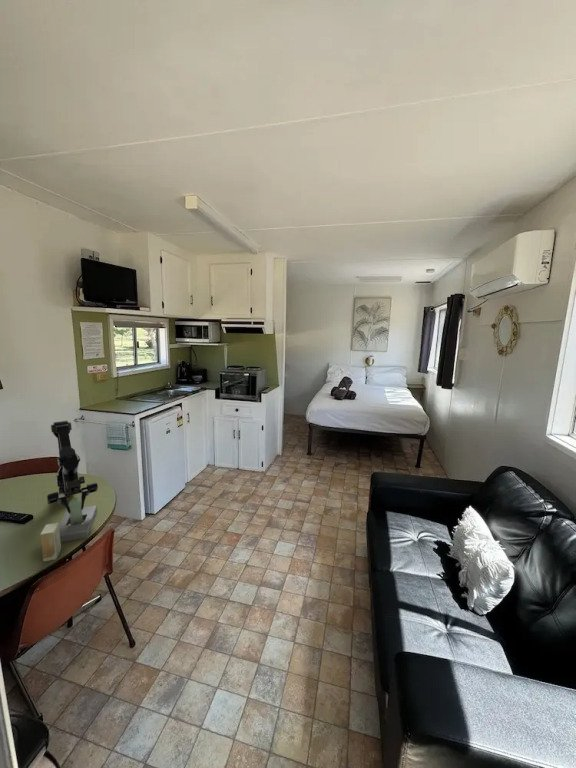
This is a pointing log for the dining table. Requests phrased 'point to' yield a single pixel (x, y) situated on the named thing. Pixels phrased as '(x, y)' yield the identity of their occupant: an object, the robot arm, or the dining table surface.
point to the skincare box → (50, 542)
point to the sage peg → (75, 511)
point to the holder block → (77, 525)
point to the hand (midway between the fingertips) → (76, 511)
